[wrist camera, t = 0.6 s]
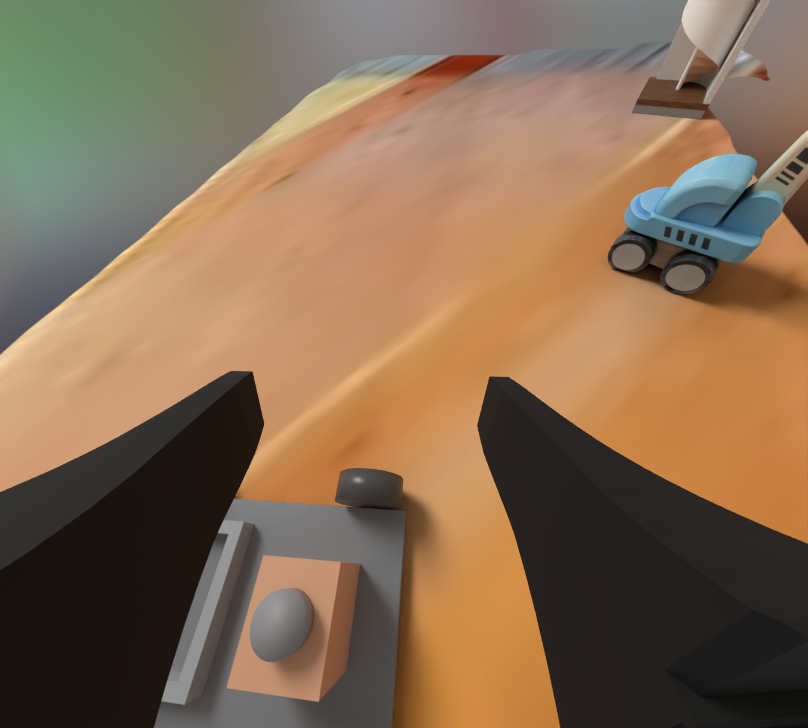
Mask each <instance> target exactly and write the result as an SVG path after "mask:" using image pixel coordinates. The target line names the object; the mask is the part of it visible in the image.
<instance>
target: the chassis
mask: <svg viewBox="0 0 808 728" xmlns="http://www.w3.org/2000/svg"><path fill="white" fill-rule="evenodd" d="M402 490H403V478H402V477H401V476H399V475H397V474H394V473H391V472H387V471H382V470H376V469H366V468H353V469H346V470H343V471H341V472H340V476H339V481H338V487H337V492H336V497H335V501H336V502H338V503H340V504H343V505H347V506H352V507H343V506H329V505H315V504H301V503H286V502H272V501H258V500H244V499H234V500H233V502H232V504H231V506H230V508H229V510H228V512H227V514H226V516H225V518H224V520H223V523H222V525H221V527H220V529H219V531H218V534H217V536H216V538H215V541H214V543H213V546H212V548H211V551H210V554H209V557H208V559H207V562H206V565H205V568H204V570H203V573H202V576H201V579H200V582H199V584H198V587H197V590H196V593H195V596H194V599H193V602H192V605H191V608H190V611H189V614H188V617H187V620H186V623H185V626H184V629H183V632H182V635H181V638H180V642H179V645H178V648H177V651H176V654H175V658H174V661H173V664H172V667H171V671H170V674H169V677H168V680H167V683H166V687H165V690H164V694H163V697H162V701H161V704H160V708H159V711H158V715H157V719H156V722H155V726H154V728H393V714H394V699H395V684H396V668H397V653H398V638H399V623H400V607H401V592H402V577H403V562H404V546H405V531H406V516H407V513H406V511H399V510H392V509H399V508H401V504H402ZM357 507H358V508H357ZM263 555H269V556H281V557H293V558H304V559H315V560H326V561H337V562H348V563H358V564H360V569H359V576H358V584H357V592H356V599H355V607H354V615H353V622H352V630H351V638H350V646H349V653H348V661H347V669H346V672H345V673H344V674H343V675H342V676H341V677H340V678H339V679H338V681H337V682H336V683H335V684H334V685H333V686H332V687H331V688H330V690H329V691H328V692H327V693H326V694H325V695H324V696H323V697H322V698H321V700H320V701H319V702H317V701H310V700H303V699H297V698H290V697H283V696H276V695H270V694H263V693H256V692H249V691H243V690H236V689H229V688H226V687H227V684H228V680H229V677H230V673H231V669H232V666H233V662H234V659H235V655H236V651H237V648H238V644H239V641H240V637H241V633H242V630H243V626H244V623H245V619H246V616H247V612H248V608H249V605H250V601H251V598H252V594H253V590H254V587H255V583H256V580H257V576H258V572H259V569H260V565H261V562H262V558H263Z"/></svg>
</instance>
